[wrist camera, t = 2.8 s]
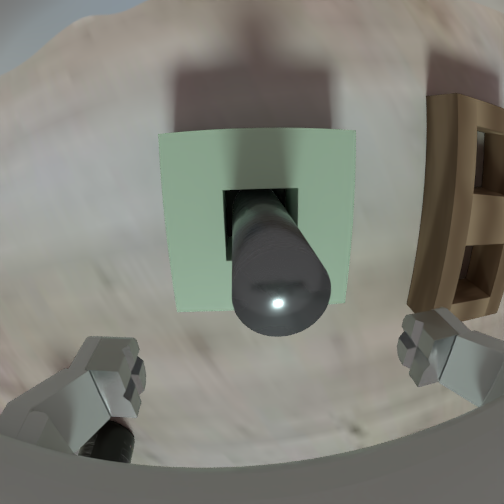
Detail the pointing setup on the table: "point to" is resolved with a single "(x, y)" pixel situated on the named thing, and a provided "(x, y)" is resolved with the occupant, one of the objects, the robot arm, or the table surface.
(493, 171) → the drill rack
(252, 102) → the table surface
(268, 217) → the steel peg
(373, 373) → the table surface
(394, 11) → the table surface
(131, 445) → the supplement bottle
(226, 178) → the socket block
